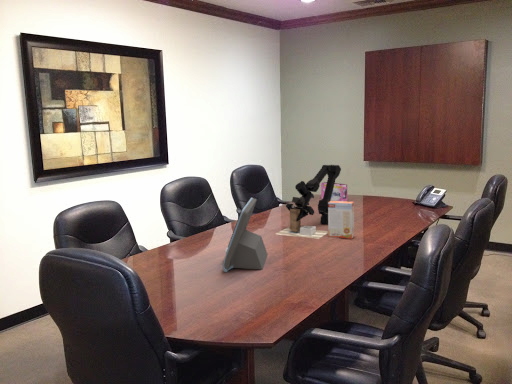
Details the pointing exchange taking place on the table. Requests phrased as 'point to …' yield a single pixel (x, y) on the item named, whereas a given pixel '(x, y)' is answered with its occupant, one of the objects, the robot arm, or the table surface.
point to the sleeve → (308, 230)
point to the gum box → (336, 192)
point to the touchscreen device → (245, 244)
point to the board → (292, 233)
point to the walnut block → (294, 220)
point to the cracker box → (341, 219)
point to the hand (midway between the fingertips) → (293, 220)
